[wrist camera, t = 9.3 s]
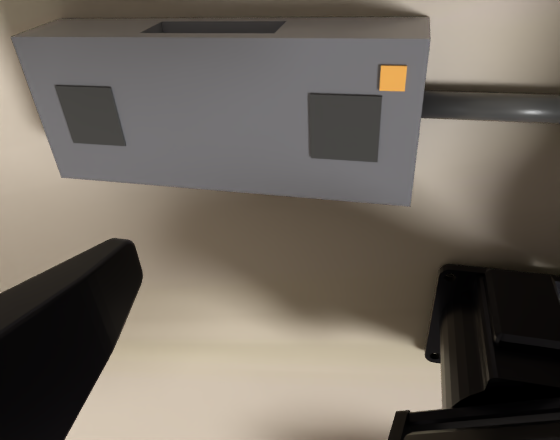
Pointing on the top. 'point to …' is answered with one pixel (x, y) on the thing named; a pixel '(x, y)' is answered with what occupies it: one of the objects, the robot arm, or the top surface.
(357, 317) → the top surface
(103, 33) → the power strip
